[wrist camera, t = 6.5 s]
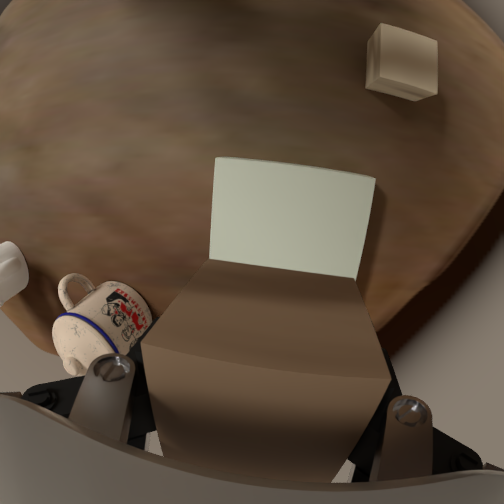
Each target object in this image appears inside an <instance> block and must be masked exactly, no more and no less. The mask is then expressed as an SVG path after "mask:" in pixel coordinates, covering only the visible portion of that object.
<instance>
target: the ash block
mask: <svg viewBox="0 0 504 504" xmlns="http://www.w3.org/2000/svg"><path fill="white" fill-rule="evenodd" d="M365 89H369V90H373V91H378V92H382V93H386V94H390V95H393V96H397V97H401V98H404V99H408V100H411V101H418V100H421V99H424V98H427V97H430V96H433V95H436V94H437V92H438V49H437V41H436V40H433V39H431V38H428V37H425V36H422V35H420V34H417V33H414V32H411V31H408V30H404V29H401V28H398V27H394V26H391V25H387V24H384V23H380V25H379V26H378V27H377V29H376V30H375V32H374V33H373V35H372V36H371V37H370V39H369V40H368V42H367V67H366V84H365Z"/></svg>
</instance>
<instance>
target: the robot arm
mask: <svg viewBox="0 0 504 504" xmlns="http://www.w3.org/2000/svg"><path fill="white" fill-rule="evenodd" d="M368 314H369V313H368ZM369 317H370V316H369ZM159 318H160V317H157V318H155V319H154V321H153V322H152V323H151V324H150V326H149V327H148V328H147V329H146V331H145V332H144V333H143V334H142V336H141V337H140V338H139V339H138V341H137V342H136V343H135V344H134V346H133V347H132V348H131V349H130V351H129V352H128V353H127V354H126V356H125V355H123V354H118V353H109V354H104V355H101V356H99V357H97V358H96V359H94V360H93V361H92V362H91V364H90V365H89V368H88V370H87V372H86V375H84V376H79V377H74V378H70V379H65V380H60V381H55V382H49V383H44V384H38V385H35V386H32V387H31V388H29V389H27V390H26V392H25V393H24V394H23V395H22V394H21V392H0V504H504V469H502V468H499V467H497V466H494V465H492V464H489V463H487V462H486V463H485V464H484V465H483V463H482V461H481V458H480V457H479V455H478V454H477V453H476V452H474V451H473V450H472V449H470V448H469V447H467V446H465V445H463V444H462V443H460V442H458V441H456V440H455V439H453V438H451V437H450V436H448V435H446V434H445V433H443V432H441V431H439V430H438V429H436V428H434V427H433V423H432V413H431V410H430V408H429V406H428V405H427V404H426V403H425V402H424V401H422V400H420V399H419V398H417V397H413V396H408V395H403V396H402V393H401V390H400V387H399V384H398V381H397V378H396V375H395V372H394V369H393V366H392V364H391V361H390V358H389V355H388V353H387V351H386V349H384V348H381V349H382V352H383V355H384V358H385V361H386V364H387V367H388V370H389V373H390V376H391V381H390V383H389V385H388V387H387V389H386V391H385V393H384V395H383V397H382V399H381V401H380V403H379V405H378V407H377V409H376V411H375V413H374V414H373V416H372V418H371V420H370V422H369V423H368V425H367V427H366V429H365V430H364V432H363V434H362V436H361V437H360V439H359V441H358V442H357V444H356V445H355V447H354V449H353V450H352V452H351V453H350V455H349V457H348V460H349V461H351V462H352V463H353V464H352V467H351V471H350V474H349V478H348V481H347V483H319V482H299V481H286V480H276V479H267V478H259V477H252V476H245V475H239V474H234V473H228V472H223V471H218V470H213V469H209V468H204V467H200V466H196V465H192V464H188V463H184V462H180V461H177V460H173V459H170V458H166V457H163V456H159V455H156V454H153V453H150V452H148V449H149V441H150V432H152V431H155V430H157V429H156V424H155V420H154V415H153V411H152V406H151V401H150V396H149V391H148V386H147V380H146V375H145V369H144V363H143V356H142V350H141V343H140V342H141V341H142V340H143V339H144V337H145V336H146V335H147V333H148V332H149V331H150V330H151V328H152V327H153V326H154V325H155V323H156V322H157V321H158V319H159ZM370 319H371V318H370ZM371 322H372V321H371ZM372 325H373V324H372ZM373 327H374V326H373ZM374 330H375V329H374ZM375 333H376V332H375ZM376 335H377V334H376ZM377 338H378V337H377ZM378 341H379V340H378ZM379 344H380V343H379Z"/></svg>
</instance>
